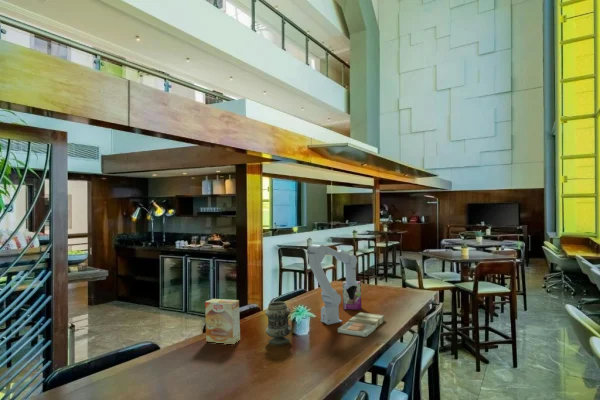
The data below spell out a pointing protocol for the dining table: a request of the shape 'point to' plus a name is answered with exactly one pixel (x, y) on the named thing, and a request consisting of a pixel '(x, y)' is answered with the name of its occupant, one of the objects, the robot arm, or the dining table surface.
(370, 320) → the plate
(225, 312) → the coffeecake box
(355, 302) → the candy bar box
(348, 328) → the front tile
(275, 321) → the carved stone vase
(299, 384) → the dining table surface
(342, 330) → the box
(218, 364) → the dining table surface
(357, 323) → the back tile
